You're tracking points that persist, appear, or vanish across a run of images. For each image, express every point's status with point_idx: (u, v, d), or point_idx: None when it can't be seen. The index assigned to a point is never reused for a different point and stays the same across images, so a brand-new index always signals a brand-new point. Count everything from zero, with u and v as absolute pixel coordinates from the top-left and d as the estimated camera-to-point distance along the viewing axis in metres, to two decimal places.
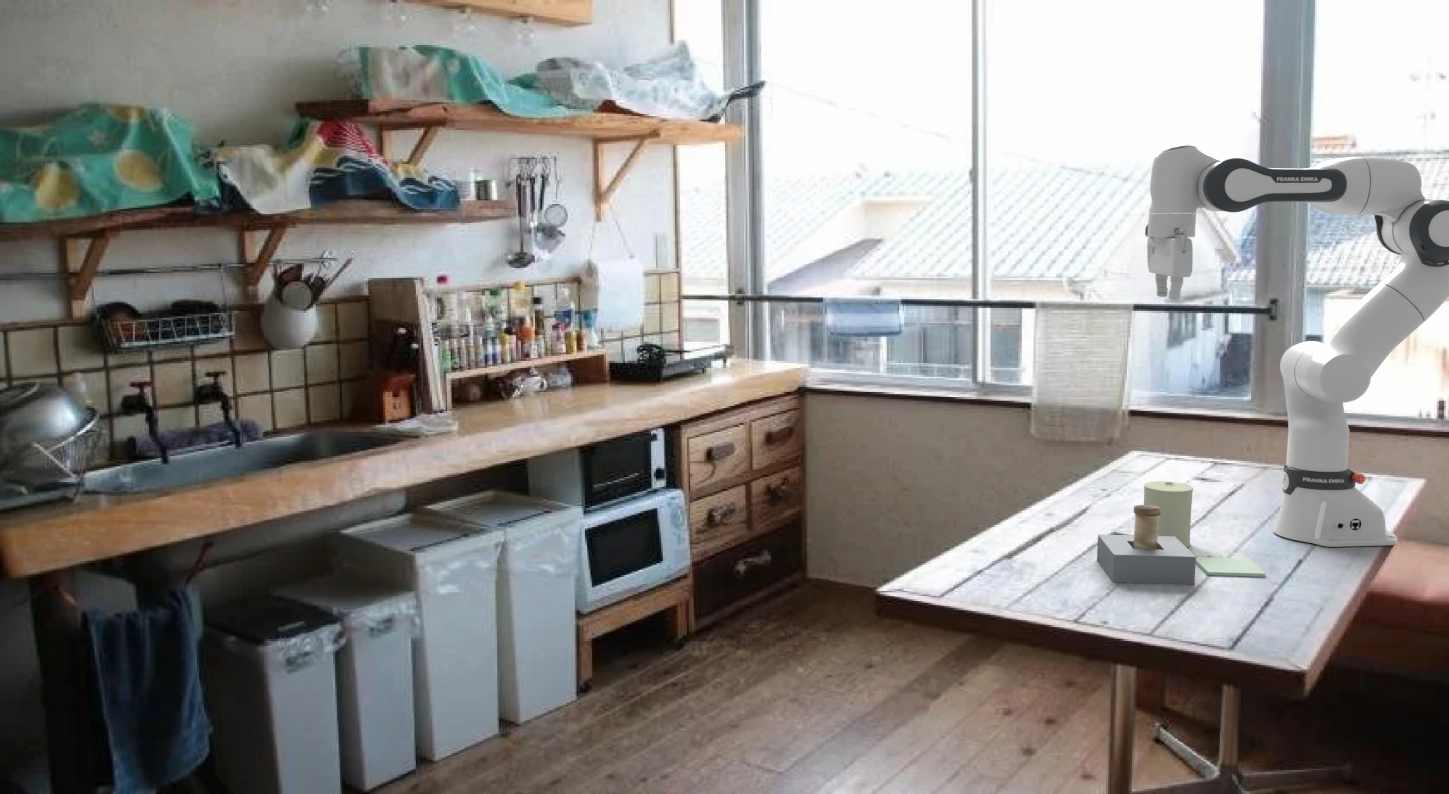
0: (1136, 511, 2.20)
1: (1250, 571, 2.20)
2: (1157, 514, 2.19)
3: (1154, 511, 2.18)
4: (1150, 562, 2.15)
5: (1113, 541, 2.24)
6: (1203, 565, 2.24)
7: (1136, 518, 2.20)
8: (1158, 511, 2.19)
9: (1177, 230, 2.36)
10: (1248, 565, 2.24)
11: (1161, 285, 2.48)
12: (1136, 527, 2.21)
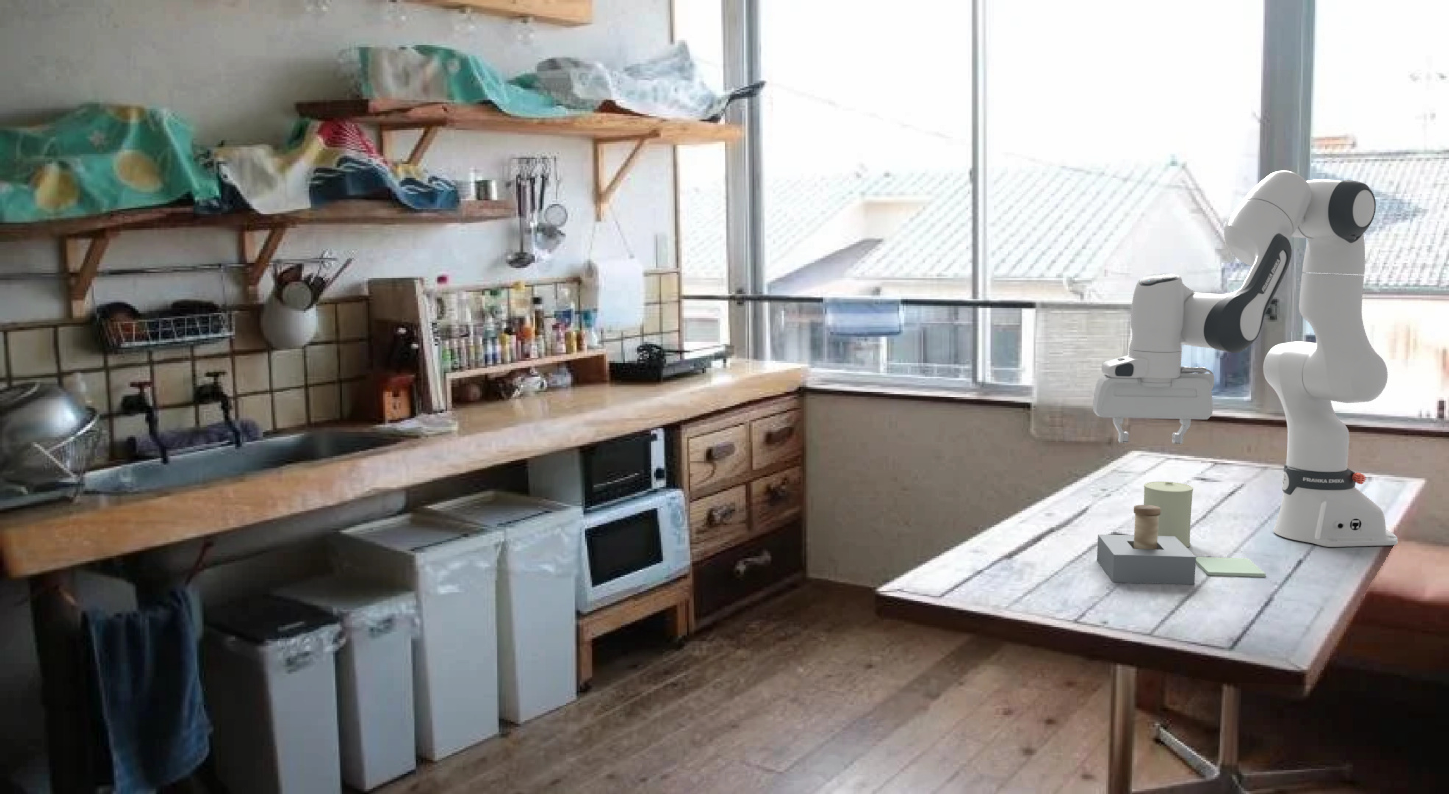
0: (1136, 511, 2.20)
1: (1250, 571, 2.20)
2: (1157, 514, 2.19)
3: (1154, 511, 2.18)
4: (1150, 562, 2.15)
5: (1113, 541, 2.24)
6: (1203, 565, 2.24)
7: (1136, 518, 2.20)
8: (1158, 511, 2.19)
9: (1191, 369, 2.16)
10: (1248, 565, 2.24)
11: None
12: (1136, 527, 2.21)
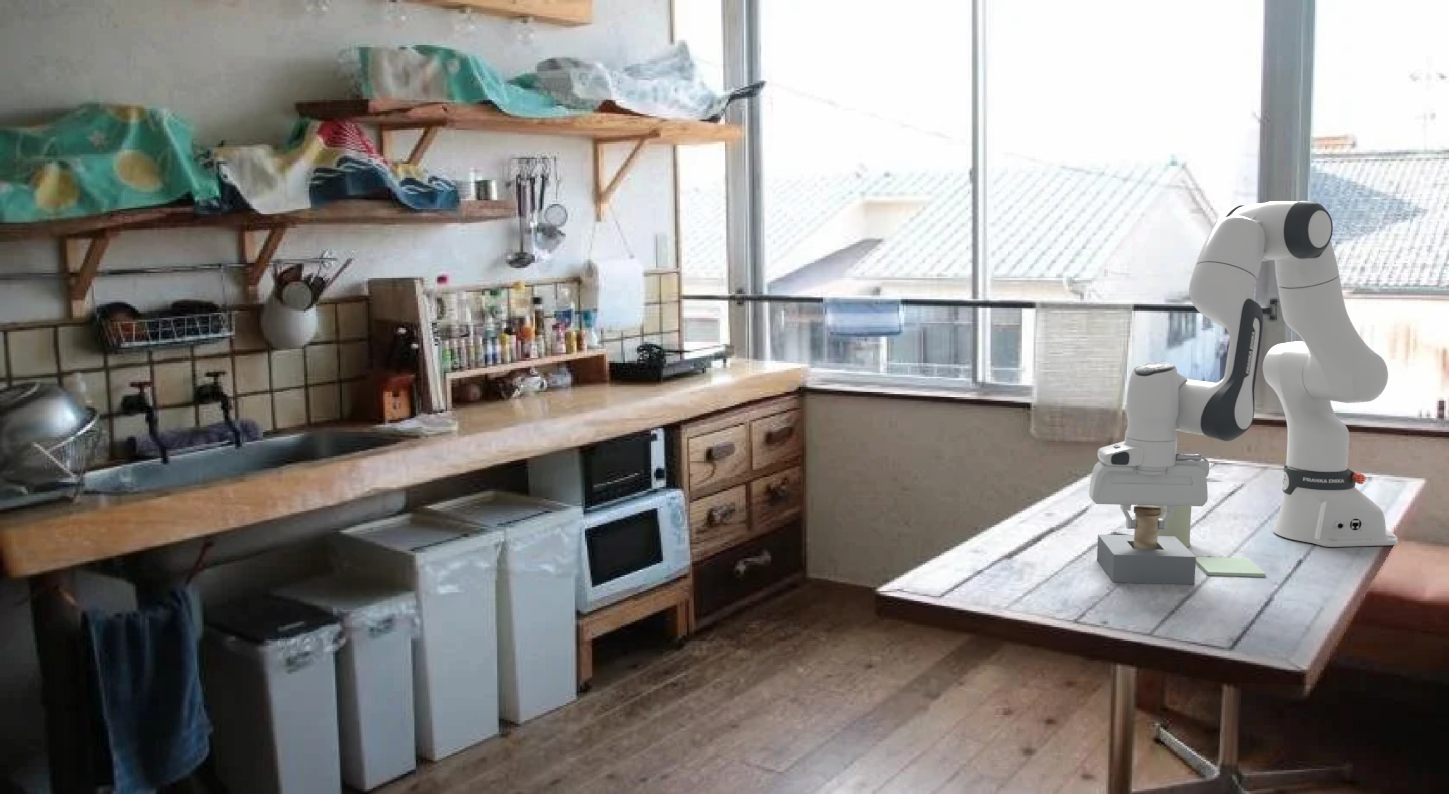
0: (1136, 511, 2.20)
1: (1250, 571, 2.20)
2: (1157, 514, 2.19)
3: (1154, 511, 2.18)
4: (1150, 562, 2.15)
5: (1113, 541, 2.24)
6: (1203, 565, 2.24)
7: (1136, 518, 2.20)
8: (1158, 511, 2.19)
9: (1186, 456, 2.18)
10: (1248, 565, 2.24)
11: None
12: (1136, 527, 2.21)
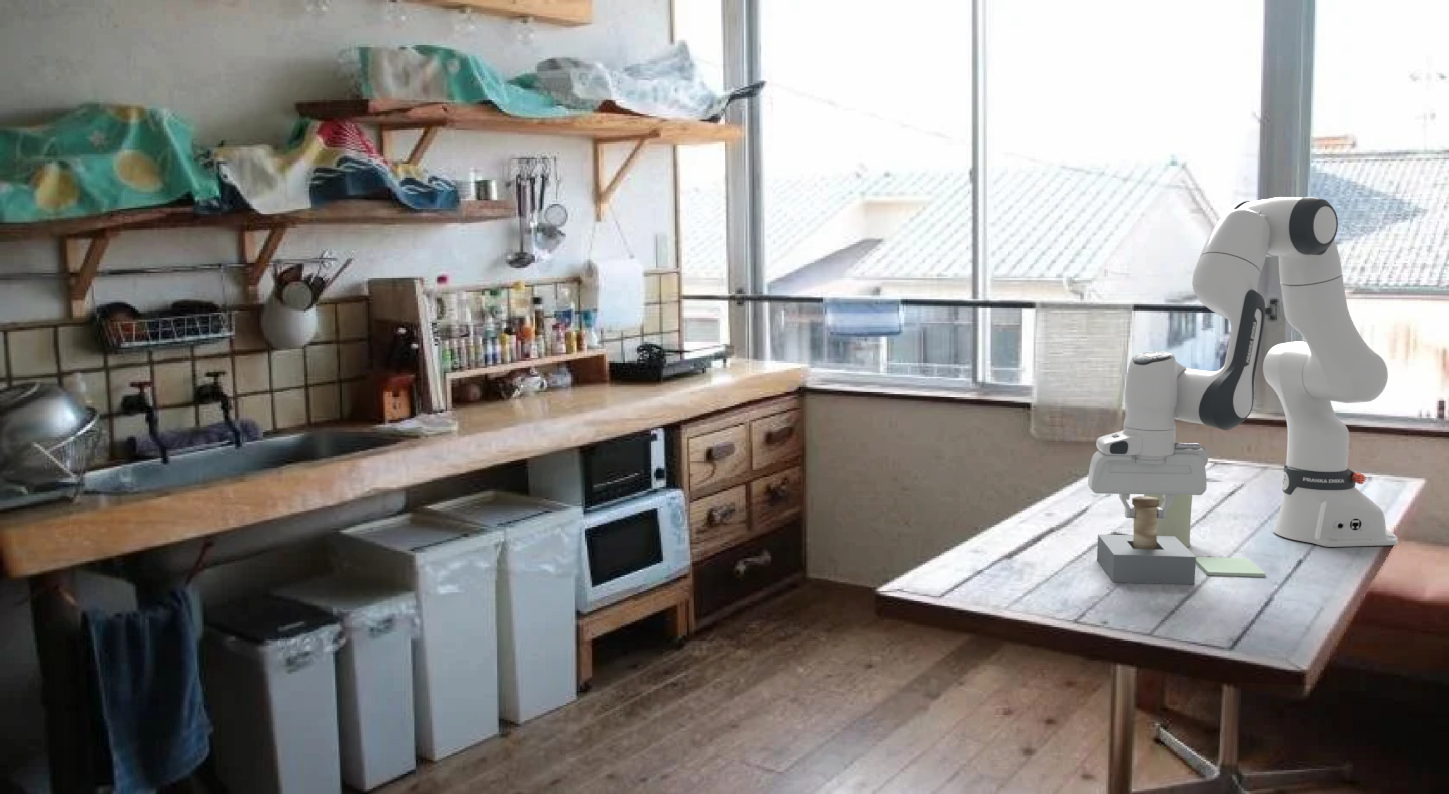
0: (1135, 503, 2.20)
1: (1250, 571, 2.20)
2: (1156, 505, 2.19)
3: (1153, 502, 2.18)
4: (1150, 562, 2.15)
5: (1113, 541, 2.24)
6: (1203, 565, 2.24)
7: (1135, 510, 2.20)
8: (1157, 502, 2.19)
9: (1184, 445, 2.18)
10: (1248, 565, 2.24)
11: None
12: (1135, 519, 2.20)
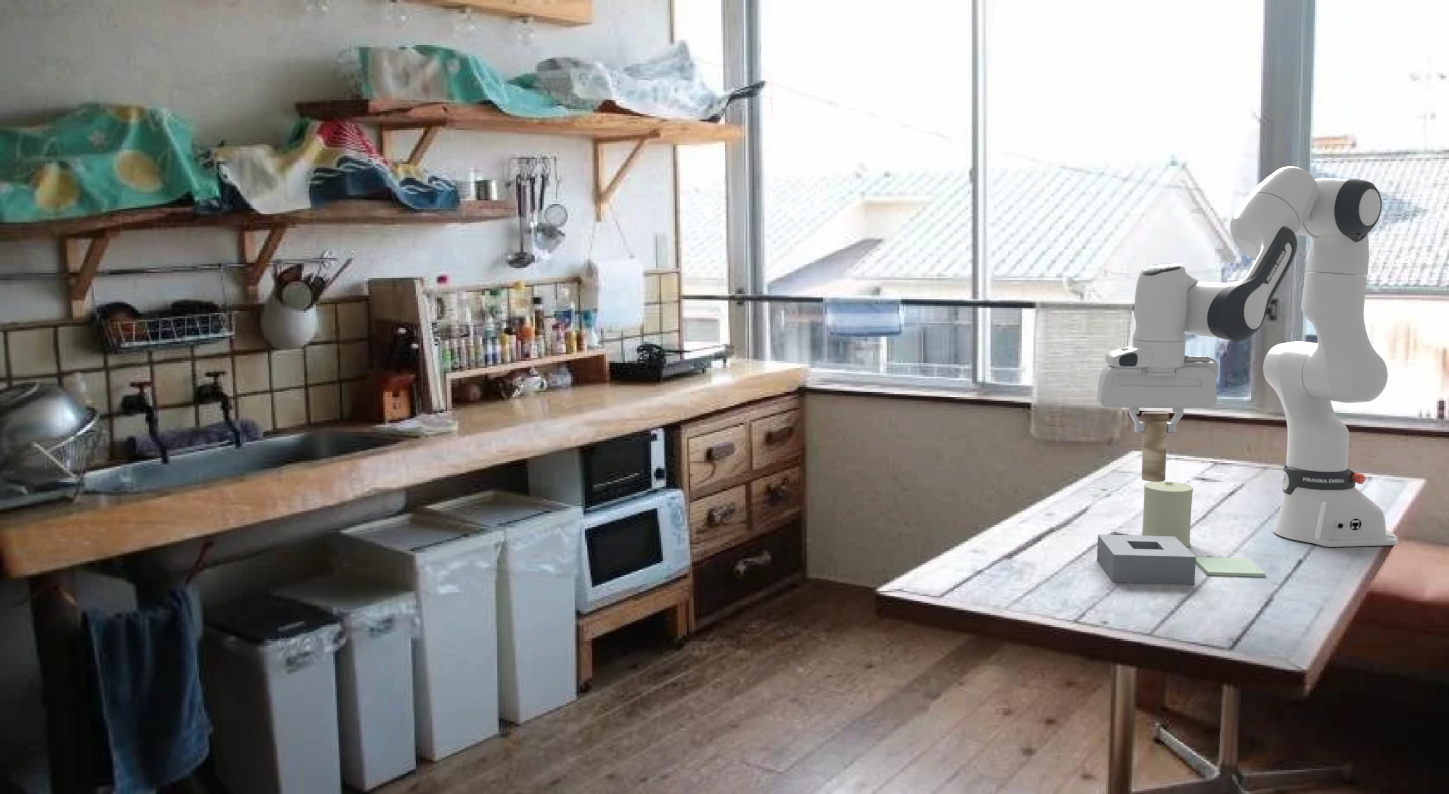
0: (1144, 417, 2.17)
1: (1250, 571, 2.20)
2: (1166, 419, 2.16)
3: (1163, 416, 2.16)
4: (1150, 562, 2.15)
5: (1113, 541, 2.24)
6: (1203, 565, 2.24)
7: None
8: (1166, 416, 2.16)
9: (1195, 358, 2.16)
10: (1248, 565, 2.24)
11: None
12: (1145, 433, 2.18)
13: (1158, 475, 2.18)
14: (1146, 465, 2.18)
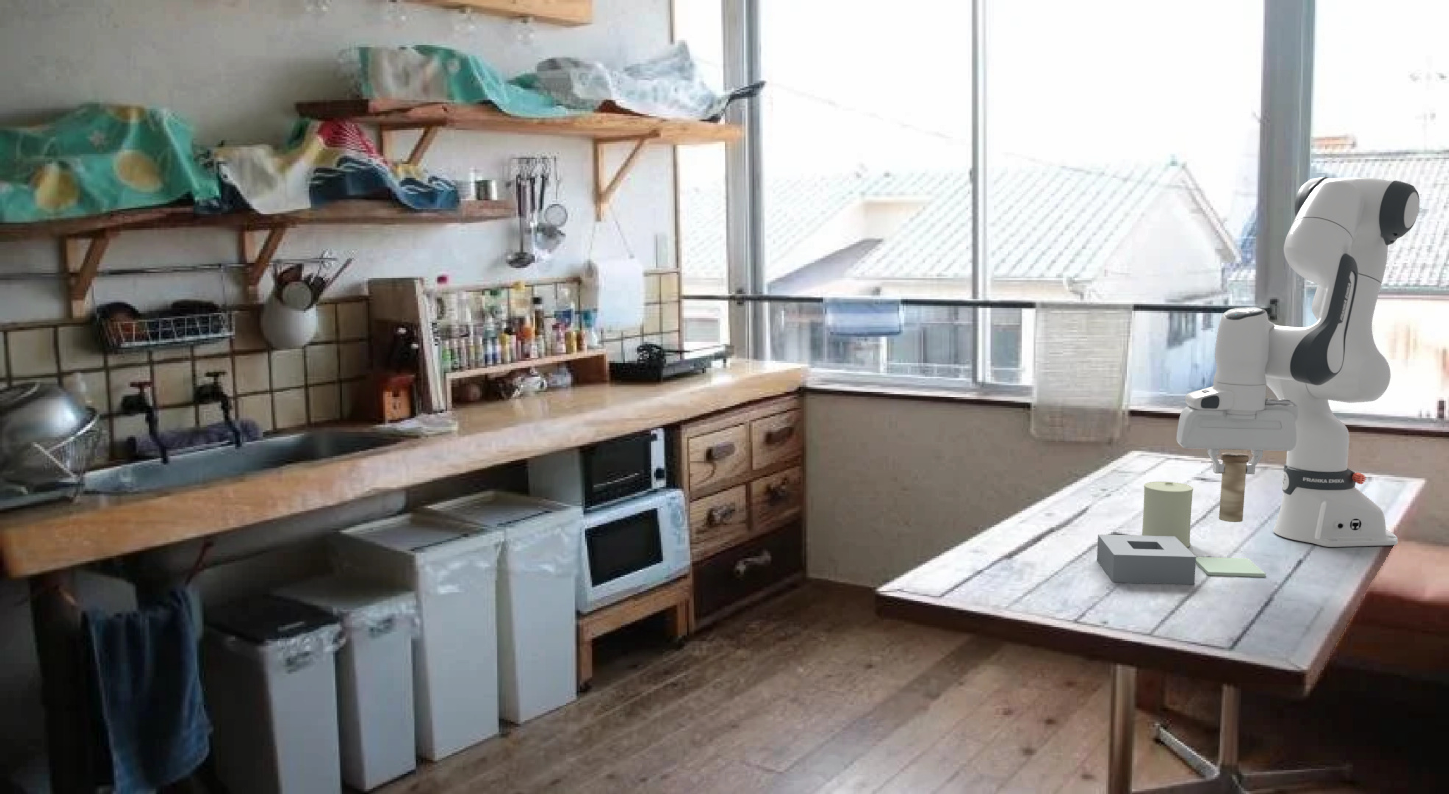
0: (1224, 458, 2.21)
1: (1250, 571, 2.20)
2: (1246, 461, 2.20)
3: (1243, 458, 2.19)
4: (1150, 562, 2.15)
5: (1113, 541, 2.24)
6: (1203, 565, 2.24)
7: None
8: (1247, 458, 2.20)
9: (1275, 401, 2.19)
10: (1248, 565, 2.24)
11: None
12: (1224, 474, 2.21)
13: (1236, 516, 2.21)
14: (1225, 505, 2.21)
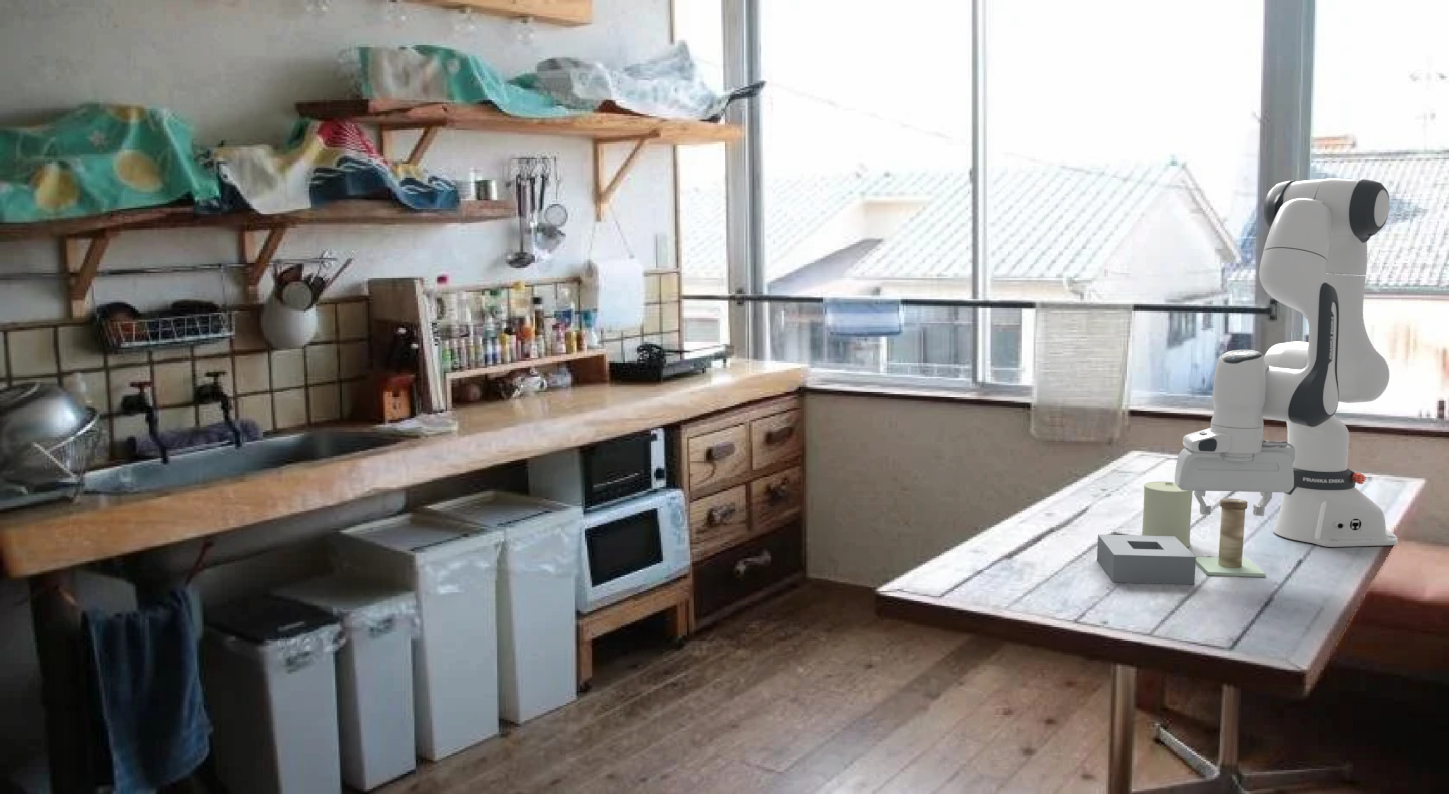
0: (1223, 505, 2.22)
1: (1250, 571, 2.20)
2: (1244, 507, 2.21)
3: (1242, 504, 2.21)
4: (1150, 562, 2.15)
5: (1113, 541, 2.24)
6: (1203, 565, 2.24)
7: (1223, 512, 2.23)
8: (1245, 504, 2.21)
9: (1272, 443, 2.20)
10: (1248, 565, 2.24)
11: (1204, 502, 2.23)
12: (1223, 520, 2.23)
13: (1235, 562, 2.22)
14: (1224, 551, 2.23)
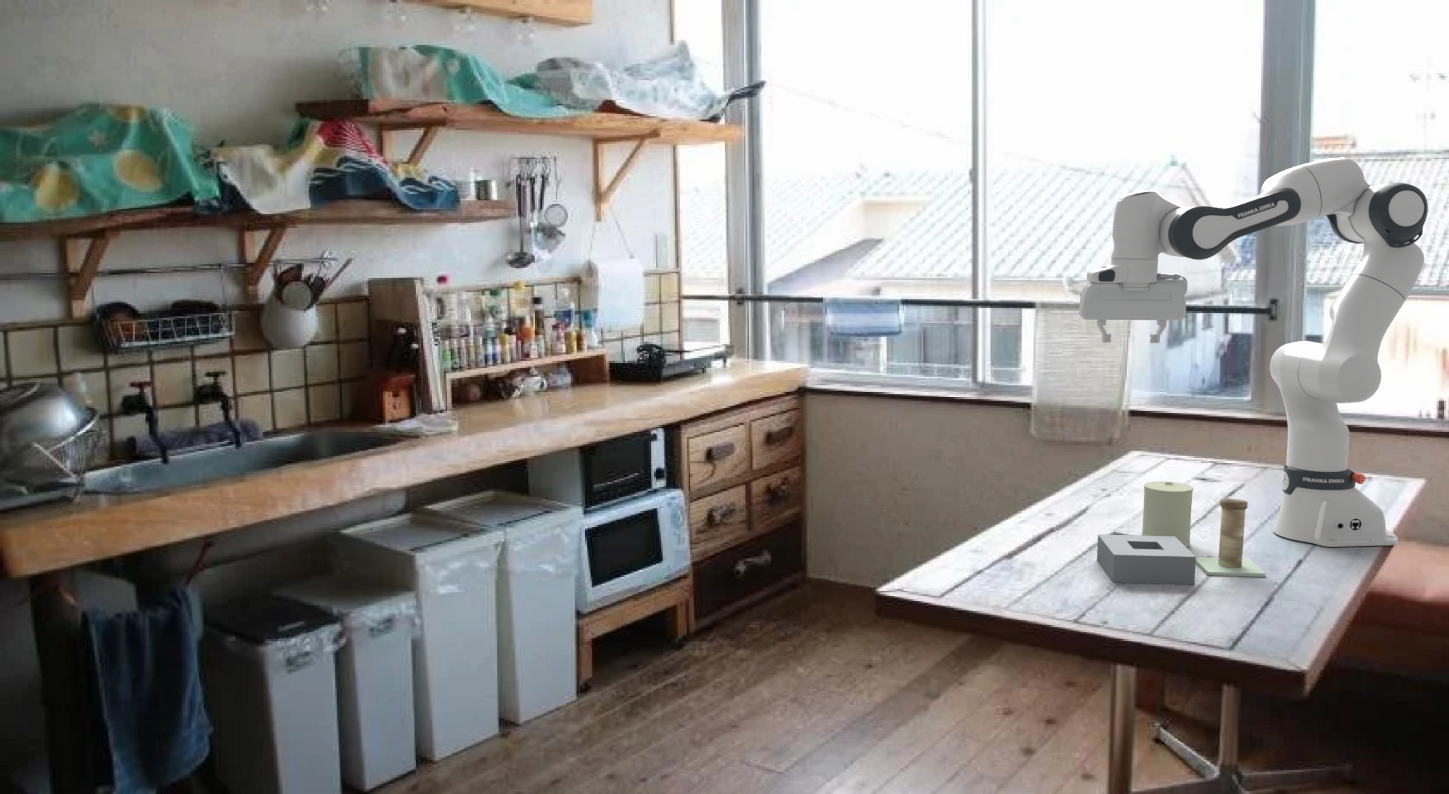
0: (1223, 505, 2.22)
1: (1250, 571, 2.20)
2: (1245, 507, 2.21)
3: (1242, 505, 2.21)
4: (1150, 562, 2.15)
5: (1113, 541, 2.24)
6: (1203, 565, 2.24)
7: (1223, 512, 2.23)
8: (1245, 505, 2.21)
9: (1166, 275, 2.41)
10: (1248, 565, 2.24)
11: (1105, 331, 2.44)
12: (1223, 520, 2.23)
13: (1235, 562, 2.22)
14: (1224, 551, 2.23)
